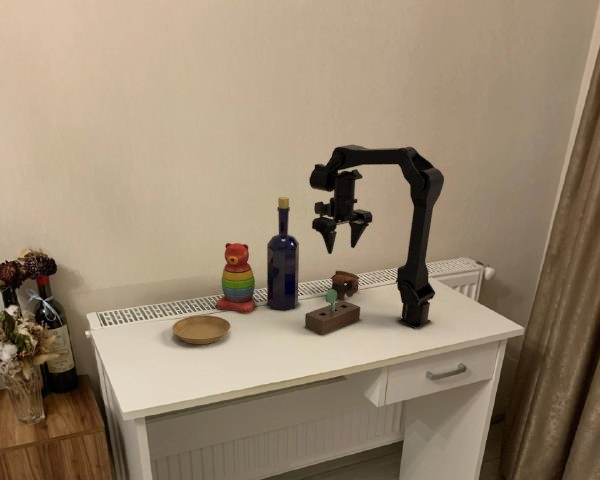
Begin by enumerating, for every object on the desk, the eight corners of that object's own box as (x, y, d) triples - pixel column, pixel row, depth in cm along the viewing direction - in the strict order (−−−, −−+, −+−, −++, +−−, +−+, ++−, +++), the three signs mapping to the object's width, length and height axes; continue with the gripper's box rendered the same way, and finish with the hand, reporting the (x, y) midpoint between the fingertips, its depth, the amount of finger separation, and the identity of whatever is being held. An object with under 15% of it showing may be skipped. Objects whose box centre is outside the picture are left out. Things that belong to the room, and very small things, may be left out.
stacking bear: (213, 308, 173) (210, 246, 164) (228, 296, 181) (225, 236, 172) (248, 314, 170) (247, 251, 161) (262, 301, 178) (261, 241, 169)
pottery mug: (319, 294, 185) (327, 268, 185) (343, 303, 190) (351, 278, 190) (342, 297, 175) (350, 269, 175) (367, 307, 180) (375, 280, 180)
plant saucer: (176, 351, 150) (175, 341, 148) (170, 326, 162) (169, 317, 160) (235, 345, 153) (235, 335, 152) (225, 321, 165) (225, 312, 164)
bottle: (285, 313, 171) (286, 204, 156) (260, 305, 176) (259, 198, 160) (304, 303, 177) (308, 197, 162) (280, 296, 182) (281, 192, 167)
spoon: (337, 322, 166) (337, 288, 160) (328, 327, 164) (328, 292, 158) (334, 321, 167) (334, 287, 161) (325, 326, 165) (325, 291, 159)
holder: (359, 320, 168) (360, 306, 166) (322, 335, 159) (323, 321, 157) (342, 313, 172) (343, 300, 170) (304, 327, 163) (305, 313, 161)
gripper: (347, 185, 178) (344, 238, 186) (299, 194, 167) (298, 250, 175) (375, 192, 171) (371, 247, 179) (327, 201, 160) (325, 259, 168)
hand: (341, 250), depth 175 cm, fingers open, 9 cm apart
